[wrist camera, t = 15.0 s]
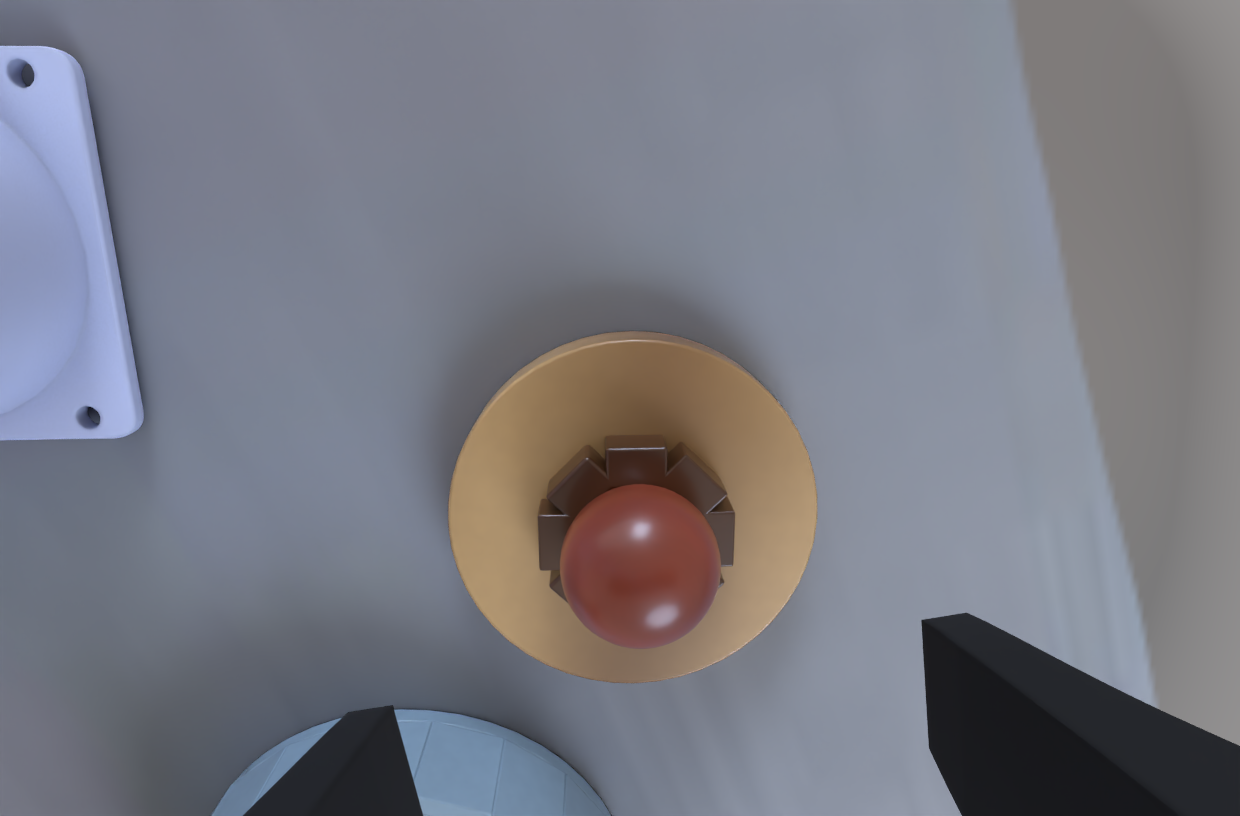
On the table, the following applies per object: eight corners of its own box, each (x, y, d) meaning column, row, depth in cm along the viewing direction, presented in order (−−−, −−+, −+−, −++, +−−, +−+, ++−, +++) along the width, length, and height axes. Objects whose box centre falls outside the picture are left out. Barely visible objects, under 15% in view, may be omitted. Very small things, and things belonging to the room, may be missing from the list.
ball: (627, 625, 17) (637, 714, 14) (531, 527, 16) (519, 599, 13) (735, 537, 17) (771, 609, 13) (642, 433, 16) (657, 484, 13)
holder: (467, 660, 19) (451, 717, 17) (445, 332, 17) (423, 349, 15) (794, 651, 19) (820, 706, 17) (814, 328, 17) (845, 344, 15)
